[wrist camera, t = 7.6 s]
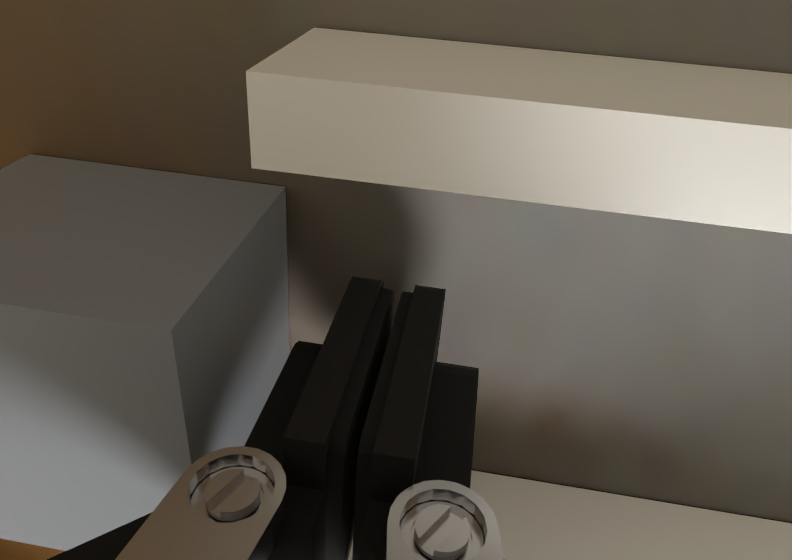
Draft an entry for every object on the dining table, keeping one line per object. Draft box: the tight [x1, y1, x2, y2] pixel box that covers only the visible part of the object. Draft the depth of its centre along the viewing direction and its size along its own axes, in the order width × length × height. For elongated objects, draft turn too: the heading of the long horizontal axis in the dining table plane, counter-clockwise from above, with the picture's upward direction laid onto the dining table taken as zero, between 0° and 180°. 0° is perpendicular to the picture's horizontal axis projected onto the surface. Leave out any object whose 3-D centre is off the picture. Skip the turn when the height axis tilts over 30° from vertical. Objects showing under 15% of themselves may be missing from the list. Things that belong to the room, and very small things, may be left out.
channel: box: [246, 28, 792, 560], centre depth 11 cm, size 16×10×3 cm, turn 86°
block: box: [0, 154, 290, 551], centre depth 11 cm, size 5×5×4 cm
